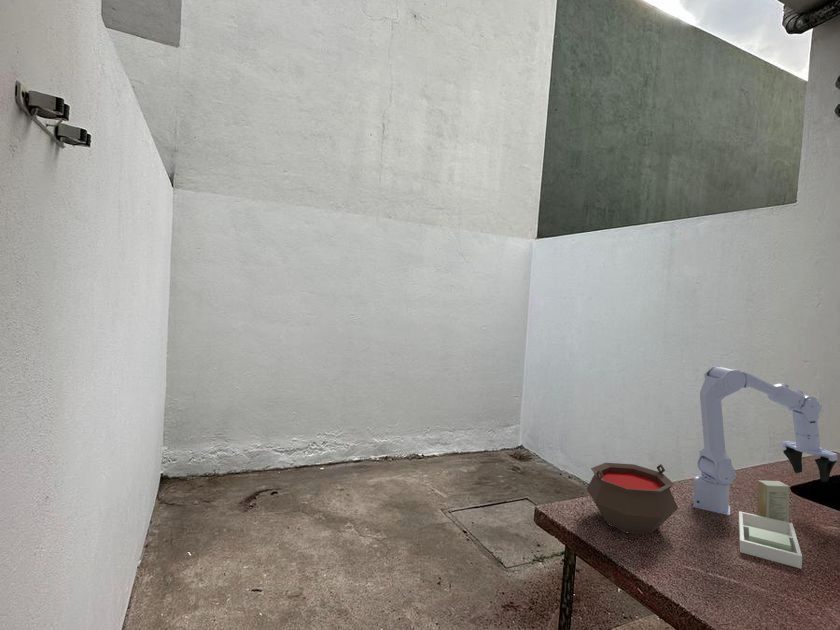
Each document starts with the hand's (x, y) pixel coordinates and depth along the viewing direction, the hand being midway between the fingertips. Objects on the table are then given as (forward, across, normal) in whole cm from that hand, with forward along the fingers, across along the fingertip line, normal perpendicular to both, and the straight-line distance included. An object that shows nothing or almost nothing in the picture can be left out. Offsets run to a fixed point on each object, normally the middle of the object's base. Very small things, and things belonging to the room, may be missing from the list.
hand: (811, 476), depth 138 cm
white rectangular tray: (+7, -13, +34) cm, 37 cm away
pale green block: (+6, -16, +38) cm, 41 cm away
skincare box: (+8, -4, +22) cm, 24 cm away
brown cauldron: (+2, +5, +62) cm, 62 cm away
